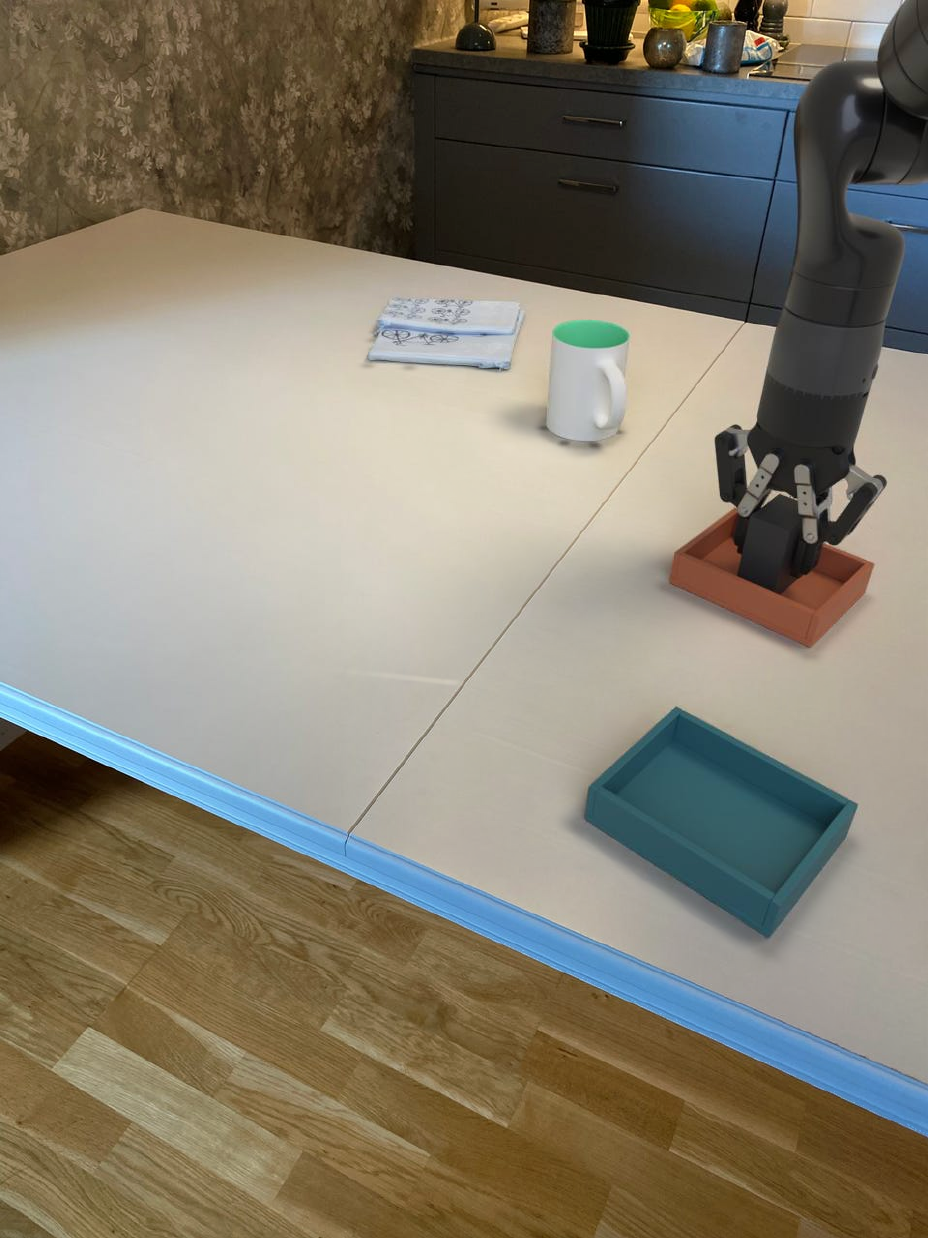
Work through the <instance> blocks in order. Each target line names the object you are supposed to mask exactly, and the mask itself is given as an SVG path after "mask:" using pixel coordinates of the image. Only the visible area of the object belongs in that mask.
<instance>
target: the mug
mask: <svg viewBox="0 0 928 1238" xmlns="http://www.w3.org/2000/svg"><path fill="white" fill-rule="evenodd" d="M630 339H631V334H630V332H629V331H628V330H627V329H626V328H624V327H623V326H622V325H618V324H616V323H613V322H610V321H604V320H598V319H573V320H569V321H565V322H562V323H559V324H558V325H556V326H554V327H553V329H552V333H551V348H550V362H549V363H550V364H549V374H548V375H549V377H548V389H547V390H548V391H547V407H546V418H545V419H546V420H545V421H546V422H545V425H546V428H547V429H548V430H549V431H550V432H551V433H553V434H554V435H556V436H558V437H560V438H563V439H566V440H570V441H576V442H598V441H604V440H607V439H609V438H612V437H613V436H614V435H616V434H617V433H618V432H619V429H620V425H621V424H623V423H622V422H623V421H624V418H625V414H626V409H627V402H628V401H627V400H628V397H627V396H628V395H627V394H628V391H627V384H626V373H627V372H626V371H627V363H628V362H627V361H628V356H629V355H628V354H629V346H630Z"/></svg>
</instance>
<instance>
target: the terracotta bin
mask: <svg viewBox="0 0 928 1238" xmlns="http://www.w3.org/2000/svg"><path fill="white" fill-rule="evenodd" d="M738 515H739V513H738V510H737V508H736V507H734V508H732V509H731V510H729V511H728V512H727V513H725V514H724V515H723V516H722V517H720V518H719V519H717V520H716V521H715V522H714V523H712V524H710V525H709V526H708V527H706V528H705V529H704V530H703V531H701V532H700V533H699V534H697V535H696V536H694V537H693V538H692V539H691V540H689V541H688V542H687V543H685V544H684V545H682V546H681V547H680V548H679V549H677V550H676V551H674V553H673V558H672V563H671V570H670V574H669V575H670V576H669V581H668V582H669V584H672V585H675V586H676V587H678V588H681V589H682V590H684V591H686V592H689V593H691V594H693V595H695V596H698V597H700V598H701V599H704V600H707V601H708V602H711V603H713V604H715V605H717V606H719V607H721V608H724V609H726V610H728V611H730V612H732V613H735V614H736V615H739V616H741V617H743V618H745V619H747V620H749V621H752V622H753V623H756V624H758V625H760V626H762V627H765V628H767V629H769V630H771V631H773V632H775V633H777V634H780V635H782V636H784V637H786V638H788V639H791V640H793V641H795V642H797V643H799V644H801V645H804V646H806V647H808V648H812V647H813V646H814V645H815V644H816V643H817V642H818V641H819V640H820V639H821V638H822V637H823V636H824V635H825V634H826V633H827V632H828V631H829V630H830V629H831V628H832V627H833V626H834V625H835V624H836V623H837V622H838V621H839V620H840V619H841V618H842V617H844V615H845V614H846V613H847V612H848V611H849V610H850V609H851V608H852V607H853V606H854V605H855V604H856V603H857V602H858V601H859V600H860V599H861V598H862V597H863V596H864V595H865V594H866V591H867V589H868V585H869V582H870V579H871V576H872V574H873V570H874V566H875V563H874V562H873V561H870V560H867V559H865V558H863V557H860V556H857V555H854V554H852V553H850V552H847V551H846V550H842V549H840V548H838V547H835V546H833V545H830V544H828V543H826V542H824V543H823V547H822V551H821V554H820V558H819V561H818V564H817V565H816V567H815V568H814V569H813V570H812V571H810V572H809V573H808V574H807V575H803V576H802V577H801V578H799V579H797V580H796V581H795V582H794V583H793V584H791V585H790V586H789V587H788V588H787V589H786V590H785V591H784V592H783V593H781V594H780V595H779V594H777V593H774V592H772V591H770V590H767V589H765V588H763V587H761V586H758V585H756V584H754V583H752V582H749V581H747V580H745V579H742V578H740V577H738V576H737V574H738V569H739V565H740V560H741V556H742V555H741V554H739V553H737V548H738V546H736V545H734V540H733V539H734V534H735V530H736V525H737V520H738Z"/></svg>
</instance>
